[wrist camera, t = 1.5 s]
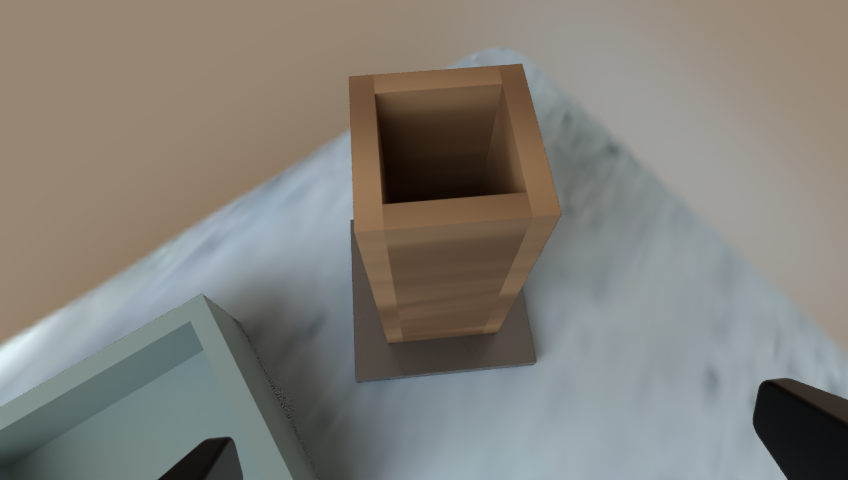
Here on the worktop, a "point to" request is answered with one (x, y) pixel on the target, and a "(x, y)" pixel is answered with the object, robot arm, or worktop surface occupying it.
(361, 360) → the stake base
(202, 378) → the tray
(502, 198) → the sleeve
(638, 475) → the worktop surface
